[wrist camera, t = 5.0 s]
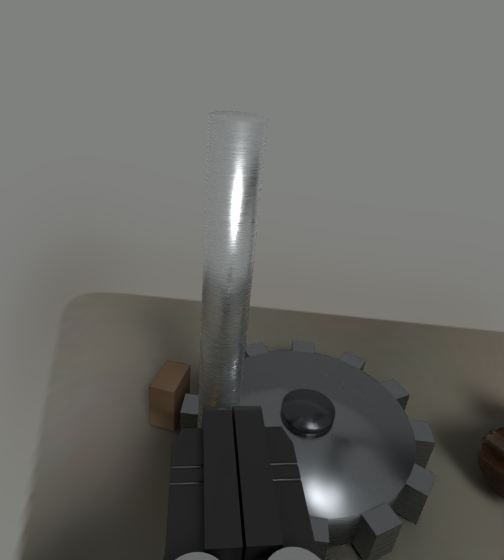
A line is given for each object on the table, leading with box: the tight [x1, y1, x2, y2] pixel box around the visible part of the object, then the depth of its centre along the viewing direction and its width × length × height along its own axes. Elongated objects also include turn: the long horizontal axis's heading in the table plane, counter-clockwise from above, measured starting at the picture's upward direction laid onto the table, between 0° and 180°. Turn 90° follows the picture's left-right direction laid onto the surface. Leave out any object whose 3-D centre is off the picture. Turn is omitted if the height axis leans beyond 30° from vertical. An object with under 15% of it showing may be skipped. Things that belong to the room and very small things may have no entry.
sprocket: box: [180, 111, 436, 560], centre depth 18 cm, size 11×11×15 cm
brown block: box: [149, 360, 190, 431], centre depth 22 cm, size 1×2×2 cm, turn 166°
